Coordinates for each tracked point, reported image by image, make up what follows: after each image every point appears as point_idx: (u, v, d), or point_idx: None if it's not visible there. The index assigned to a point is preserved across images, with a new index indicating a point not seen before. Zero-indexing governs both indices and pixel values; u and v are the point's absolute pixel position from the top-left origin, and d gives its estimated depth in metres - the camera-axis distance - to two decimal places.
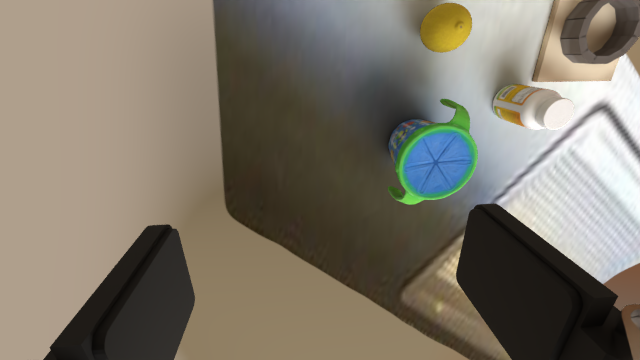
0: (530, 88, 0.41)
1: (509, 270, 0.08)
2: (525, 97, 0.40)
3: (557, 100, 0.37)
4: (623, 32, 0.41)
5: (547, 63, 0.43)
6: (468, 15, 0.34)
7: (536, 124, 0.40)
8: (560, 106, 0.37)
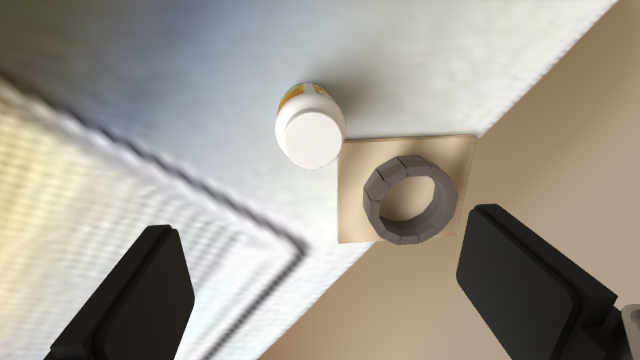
0: None
1: (509, 270, 0.08)
2: (329, 98, 0.22)
3: (339, 128, 0.20)
4: (400, 228, 0.32)
5: (364, 150, 0.29)
6: None
7: (286, 122, 0.21)
8: (329, 138, 0.20)
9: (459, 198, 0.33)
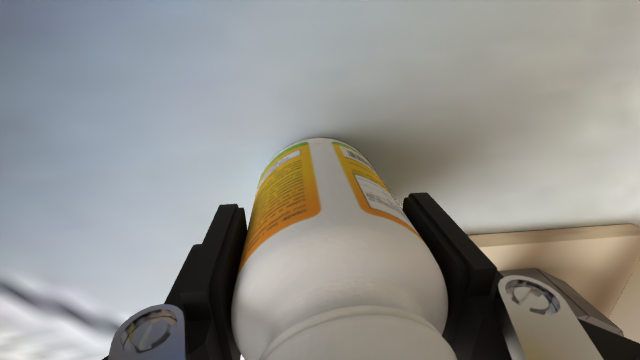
0: None
1: None
2: (398, 216, 0.07)
3: None
4: None
5: None
6: None
7: (264, 324, 0.06)
8: None
9: None
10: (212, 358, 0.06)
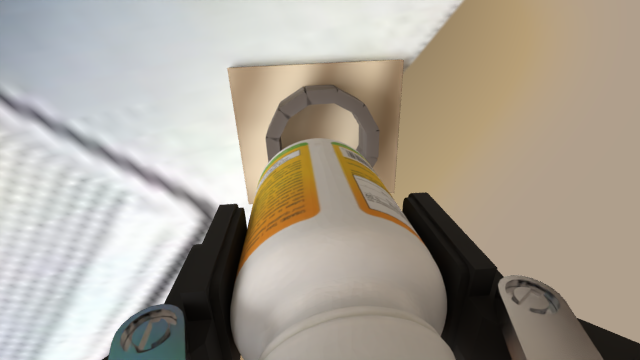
0: None
1: None
2: (397, 216, 0.07)
3: None
4: None
5: (261, 77, 0.23)
6: None
7: (263, 324, 0.06)
8: None
9: (392, 143, 0.27)
10: (212, 358, 0.06)
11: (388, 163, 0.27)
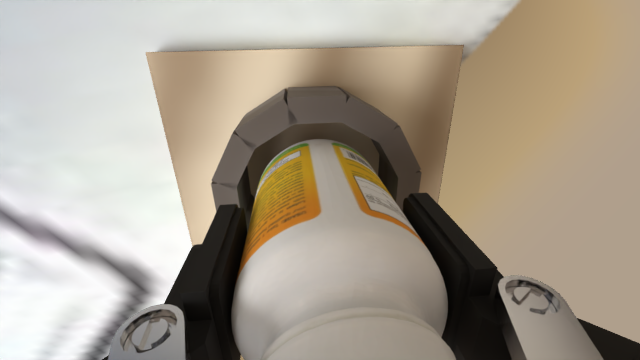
0: None
1: None
2: (398, 218, 0.07)
3: None
4: None
5: (210, 71, 0.13)
6: None
7: (264, 325, 0.06)
8: None
9: (431, 183, 0.16)
10: (212, 358, 0.06)
11: None
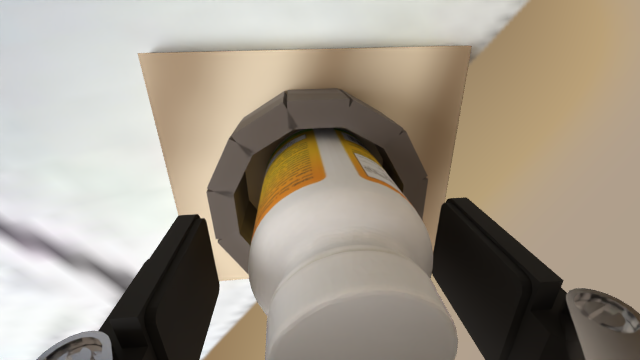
0: None
1: (473, 260, 0.08)
2: (391, 185, 0.09)
3: None
4: None
5: (206, 73, 0.12)
6: None
7: (278, 267, 0.07)
8: (417, 354, 0.06)
9: (437, 189, 0.16)
10: None
11: (428, 220, 0.16)
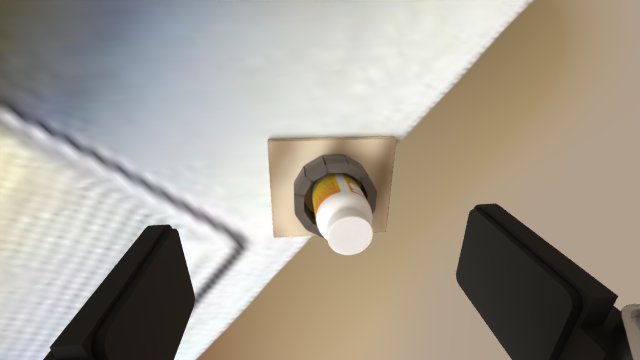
0: None
1: (509, 270, 0.08)
2: (360, 194, 0.28)
3: (371, 227, 0.25)
4: None
5: (292, 148, 0.32)
6: None
7: (327, 216, 0.27)
8: (363, 234, 0.25)
9: (385, 196, 0.35)
10: None
11: (382, 210, 0.36)
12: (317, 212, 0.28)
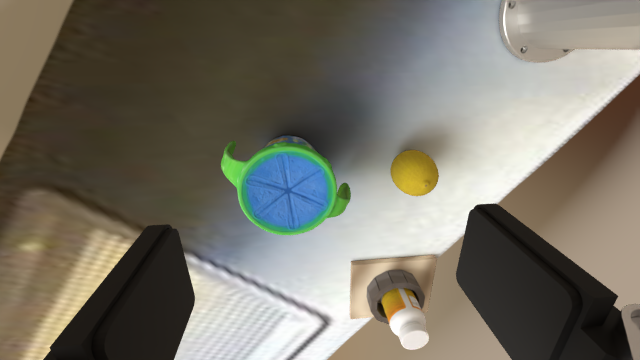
0: None
1: (509, 270, 0.08)
2: (417, 306, 0.44)
3: (428, 335, 0.41)
4: None
5: (367, 268, 0.48)
6: (431, 190, 0.36)
7: (399, 324, 0.43)
8: (423, 339, 0.42)
9: (428, 291, 0.51)
10: None
11: (425, 299, 0.52)
12: (391, 319, 0.44)
